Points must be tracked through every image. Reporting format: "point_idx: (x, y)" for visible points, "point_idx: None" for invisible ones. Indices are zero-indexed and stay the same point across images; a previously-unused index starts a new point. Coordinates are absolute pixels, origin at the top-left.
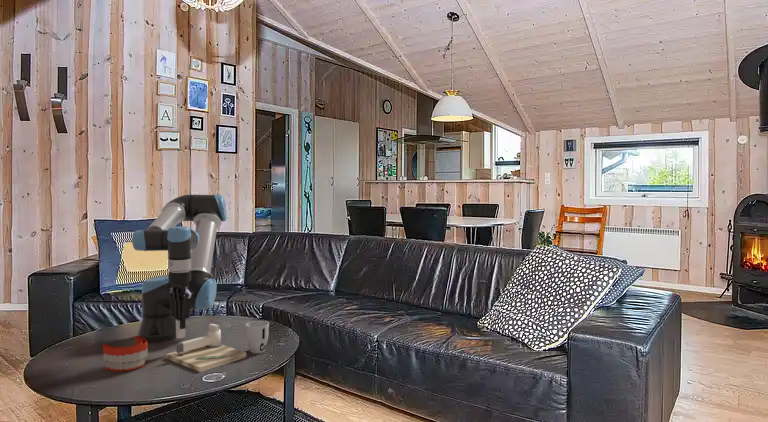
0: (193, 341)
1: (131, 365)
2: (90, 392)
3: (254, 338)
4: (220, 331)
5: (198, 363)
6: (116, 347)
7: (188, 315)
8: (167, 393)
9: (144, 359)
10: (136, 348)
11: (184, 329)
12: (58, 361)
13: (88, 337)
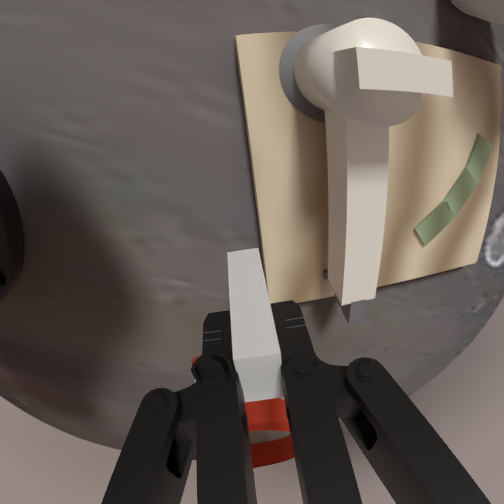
0: (381, 245)
1: None
2: (341, 424)
3: None
4: (410, 43)
5: (455, 253)
6: (272, 458)
7: (388, 386)
8: (468, 338)
9: None
10: None
11: (265, 287)
12: (110, 433)
13: None
